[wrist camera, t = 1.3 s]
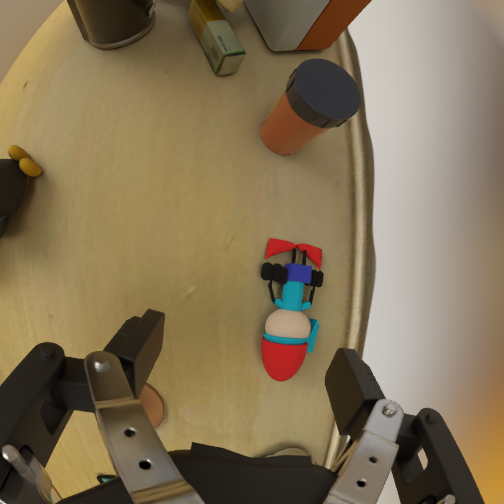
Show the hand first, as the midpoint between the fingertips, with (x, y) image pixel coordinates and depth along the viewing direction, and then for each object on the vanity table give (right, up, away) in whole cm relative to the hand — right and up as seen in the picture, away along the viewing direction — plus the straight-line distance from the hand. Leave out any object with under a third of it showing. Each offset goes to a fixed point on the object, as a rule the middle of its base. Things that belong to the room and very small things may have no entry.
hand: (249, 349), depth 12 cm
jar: (+4, +18, +17) cm, 25 cm away
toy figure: (+4, -2, +18) cm, 19 cm away
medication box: (-5, +30, +15) cm, 34 cm away
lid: (+6, +17, +6) cm, 19 cm away
